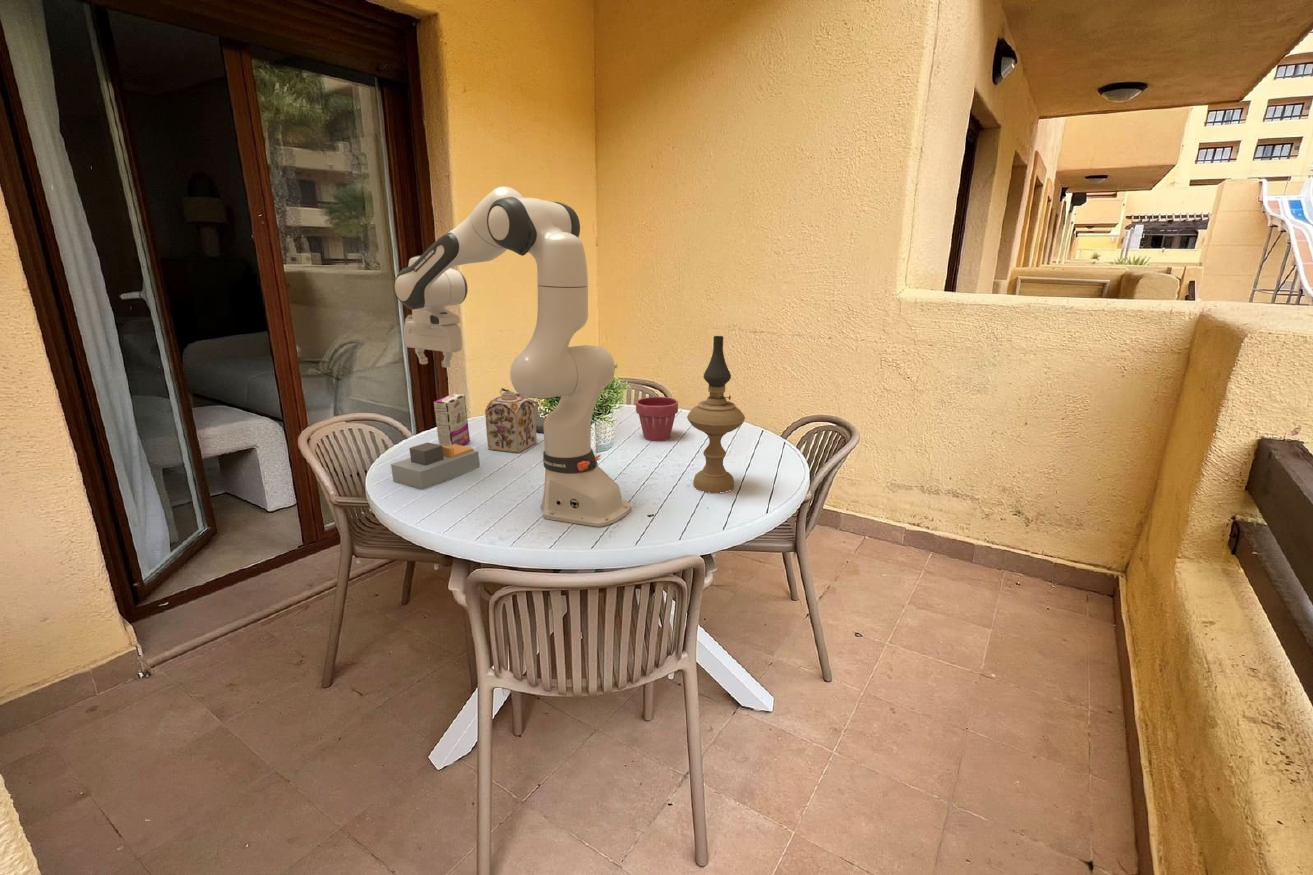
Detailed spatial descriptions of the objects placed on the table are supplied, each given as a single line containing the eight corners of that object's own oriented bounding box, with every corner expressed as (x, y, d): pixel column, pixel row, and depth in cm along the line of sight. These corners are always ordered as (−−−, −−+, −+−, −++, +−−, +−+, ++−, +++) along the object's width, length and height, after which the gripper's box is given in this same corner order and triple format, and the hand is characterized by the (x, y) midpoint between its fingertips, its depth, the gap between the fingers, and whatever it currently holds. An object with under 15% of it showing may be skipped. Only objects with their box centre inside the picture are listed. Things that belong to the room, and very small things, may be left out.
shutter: (473, 450, 170) (472, 441, 169) (451, 457, 163) (450, 448, 163) (454, 445, 174) (453, 437, 173) (432, 453, 167) (431, 444, 166)
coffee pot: (564, 425, 214) (562, 385, 210) (558, 434, 203) (556, 392, 199) (507, 424, 215) (504, 384, 211) (498, 433, 204) (494, 391, 200)
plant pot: (629, 440, 196) (628, 403, 193) (646, 429, 209) (645, 394, 205) (668, 445, 191) (669, 407, 187) (683, 434, 204) (684, 398, 200)
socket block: (479, 467, 170) (478, 451, 169) (422, 489, 154) (420, 472, 152) (451, 460, 176) (449, 444, 175) (393, 481, 160) (390, 464, 158)
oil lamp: (727, 500, 147) (733, 342, 135) (675, 489, 154) (677, 337, 143) (750, 482, 159) (758, 335, 148) (701, 472, 167) (705, 331, 155)
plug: (445, 472, 163) (442, 445, 161) (427, 479, 158) (423, 451, 156) (430, 469, 166) (427, 442, 164) (412, 475, 161) (409, 448, 159)
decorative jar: (487, 450, 186) (482, 395, 181) (506, 439, 197) (502, 387, 192) (519, 453, 183) (515, 397, 177) (538, 443, 193) (535, 390, 188)
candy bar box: (456, 441, 195) (451, 393, 190) (470, 442, 194) (465, 394, 189) (438, 451, 185) (432, 401, 180) (452, 452, 184) (447, 402, 179)
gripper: (395, 315, 164) (401, 363, 168) (445, 319, 154) (450, 370, 158) (414, 313, 169) (419, 360, 173) (463, 317, 160) (468, 367, 164)
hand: (434, 365), depth 166 cm, fingers open, 8 cm apart
